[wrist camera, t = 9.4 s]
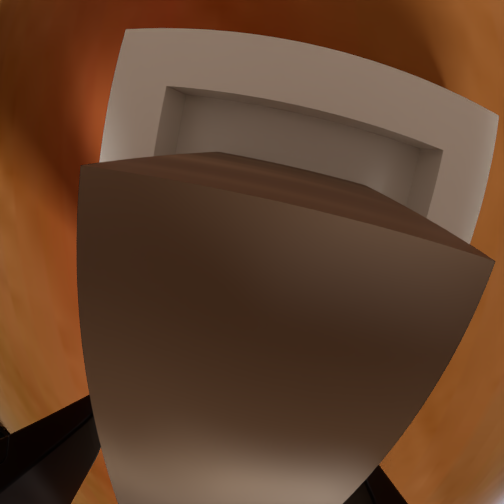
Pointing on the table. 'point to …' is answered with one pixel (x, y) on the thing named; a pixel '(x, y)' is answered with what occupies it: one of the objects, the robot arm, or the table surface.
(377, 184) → the slot tray
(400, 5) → the table surface
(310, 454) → the walnut block
